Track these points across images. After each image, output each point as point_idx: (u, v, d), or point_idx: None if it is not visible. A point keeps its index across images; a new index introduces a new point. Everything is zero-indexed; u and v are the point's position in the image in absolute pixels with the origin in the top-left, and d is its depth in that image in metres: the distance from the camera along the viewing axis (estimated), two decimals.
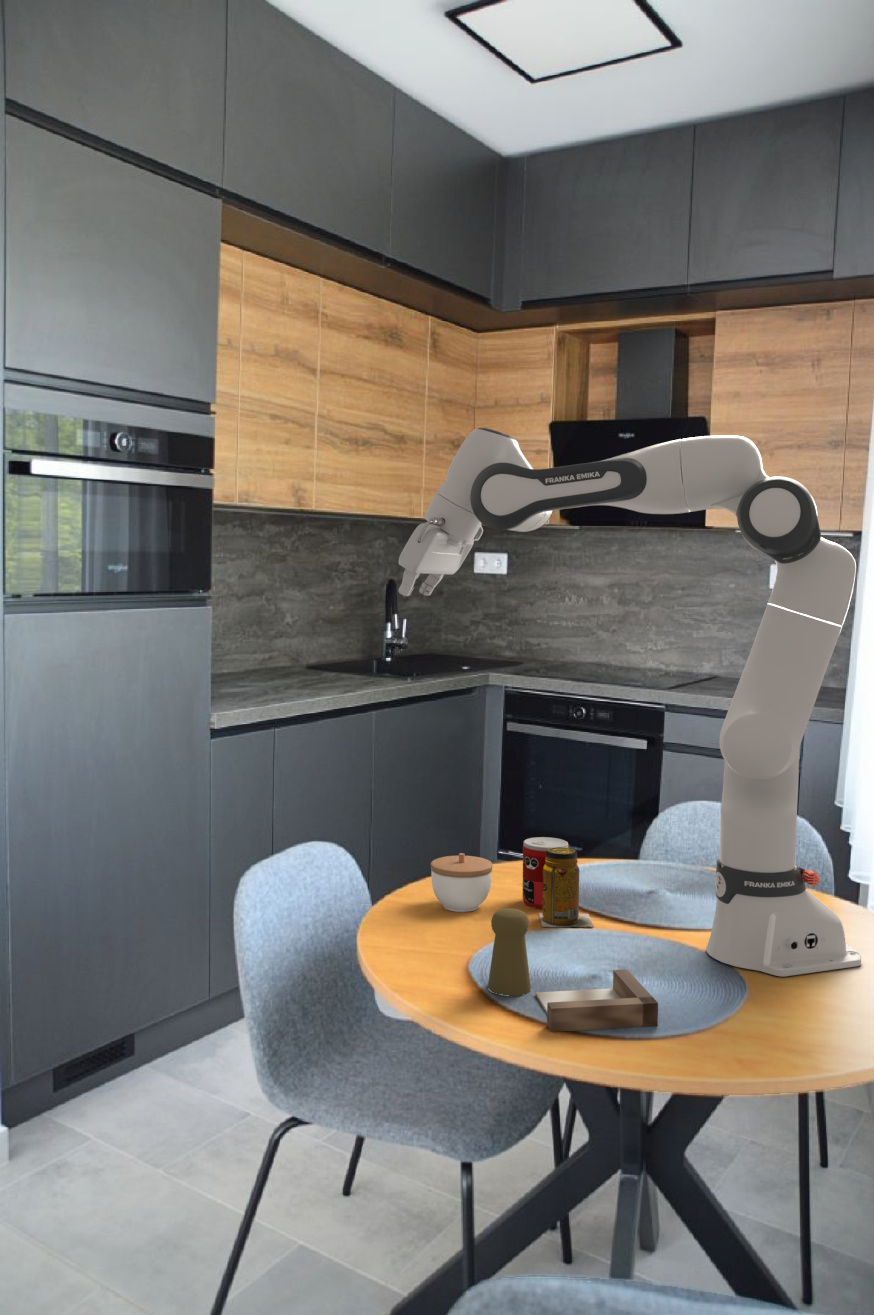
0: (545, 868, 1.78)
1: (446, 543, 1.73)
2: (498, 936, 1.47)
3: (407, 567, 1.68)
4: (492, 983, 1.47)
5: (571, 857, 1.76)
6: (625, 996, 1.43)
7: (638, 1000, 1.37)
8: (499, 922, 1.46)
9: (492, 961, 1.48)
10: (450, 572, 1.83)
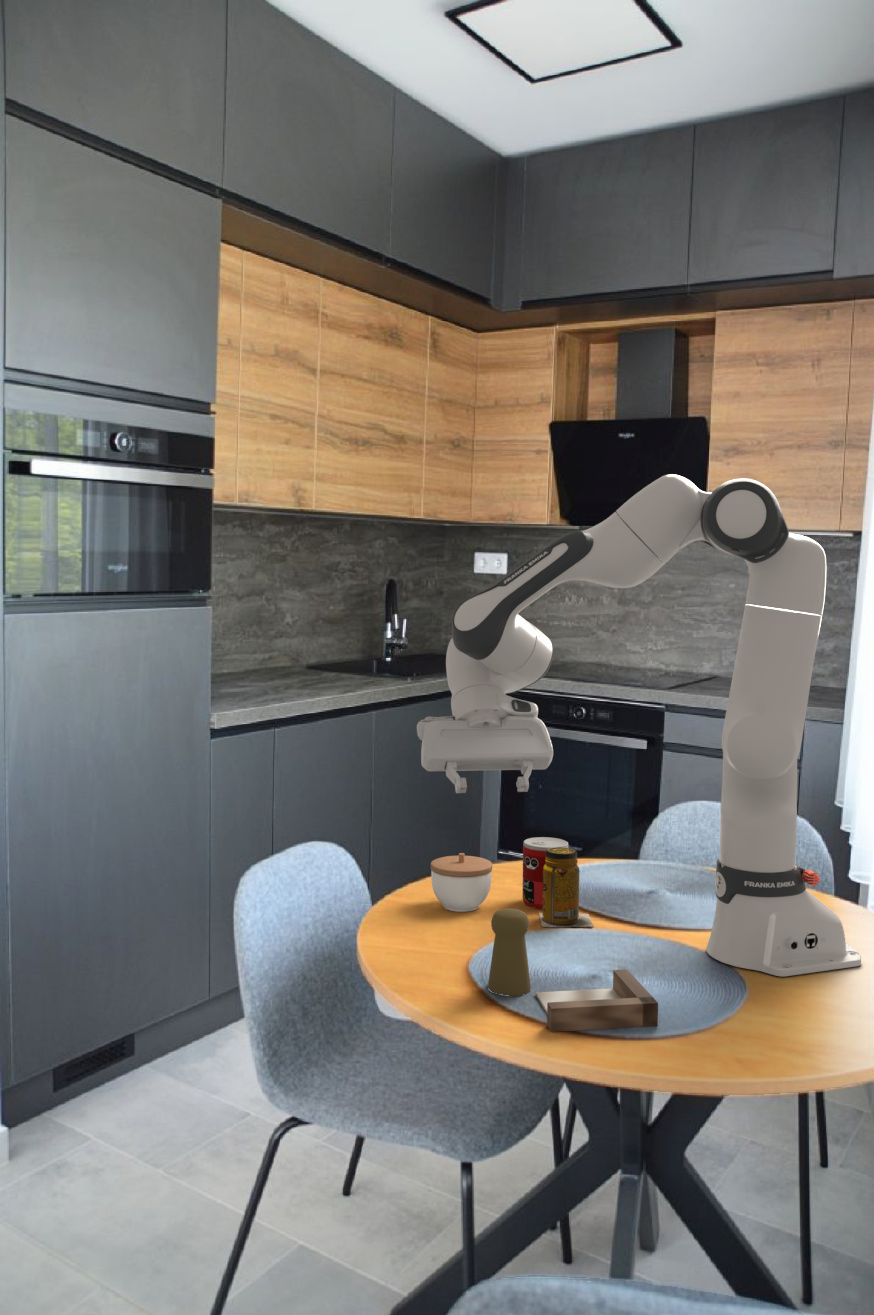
0: (545, 868, 1.78)
1: (469, 727, 1.64)
2: (498, 936, 1.47)
3: (425, 762, 1.61)
4: (492, 983, 1.47)
5: (571, 857, 1.76)
6: (625, 996, 1.43)
7: (638, 1000, 1.37)
8: (499, 922, 1.46)
9: (492, 961, 1.48)
10: (533, 754, 1.62)
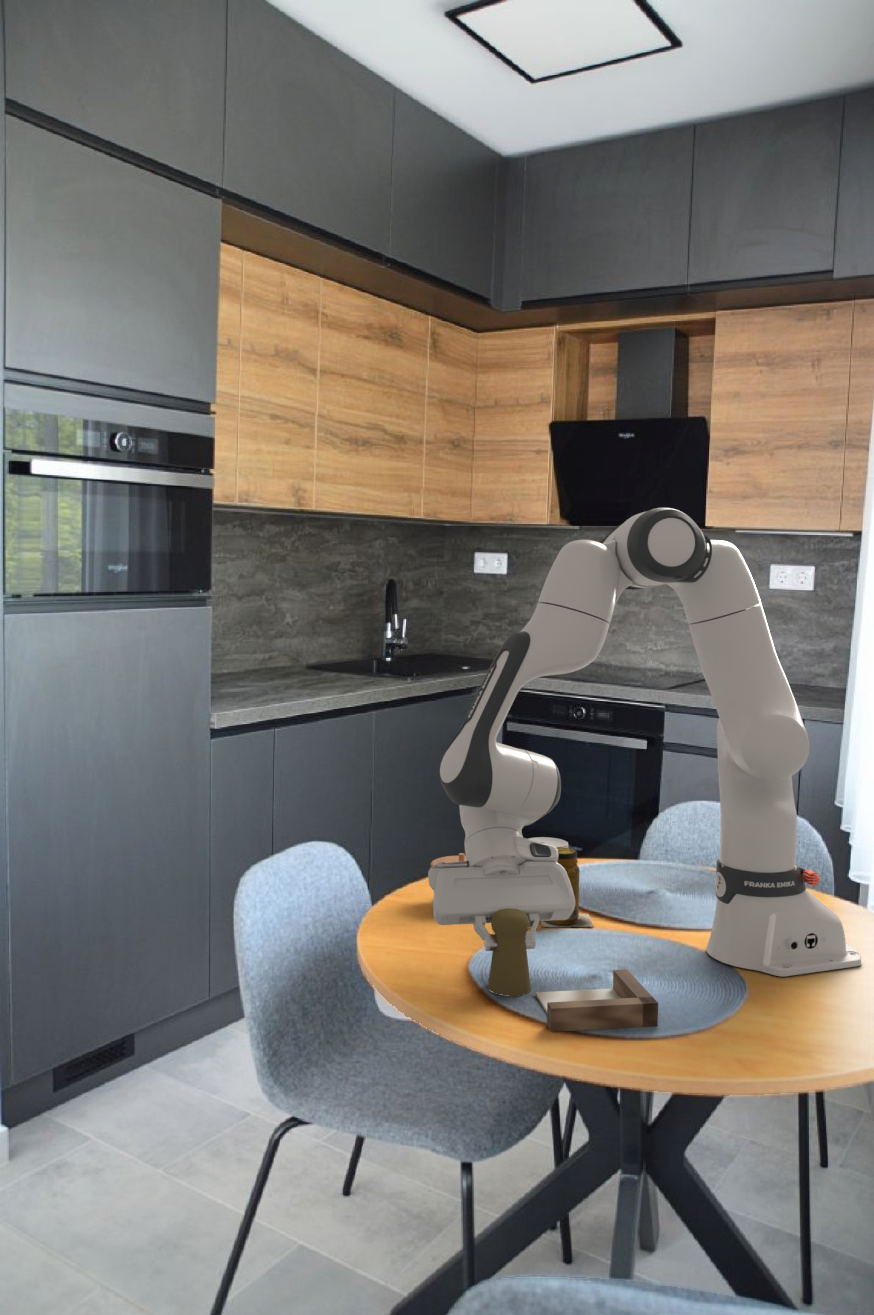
0: None
1: (484, 875, 1.53)
2: (498, 936, 1.47)
3: (437, 917, 1.49)
4: (492, 983, 1.47)
5: (571, 857, 1.76)
6: (625, 996, 1.43)
7: (638, 1000, 1.37)
8: (499, 922, 1.46)
9: (492, 961, 1.48)
10: (554, 906, 1.51)
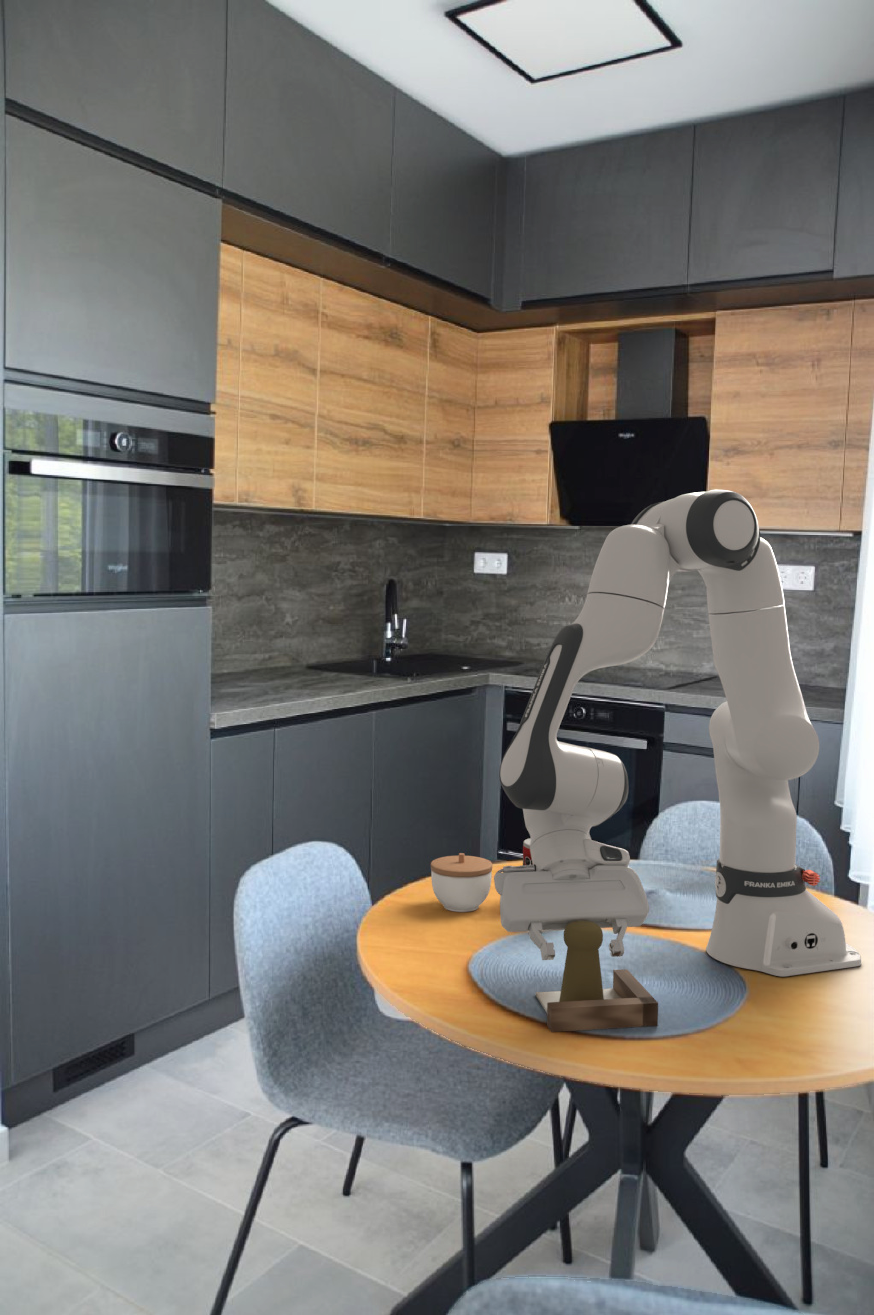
0: None
1: (554, 880, 1.46)
2: (571, 950, 1.41)
3: (506, 923, 1.43)
4: (564, 999, 1.41)
5: None
6: (625, 996, 1.43)
7: (638, 1000, 1.37)
8: (573, 935, 1.40)
9: (564, 975, 1.42)
10: (627, 912, 1.44)
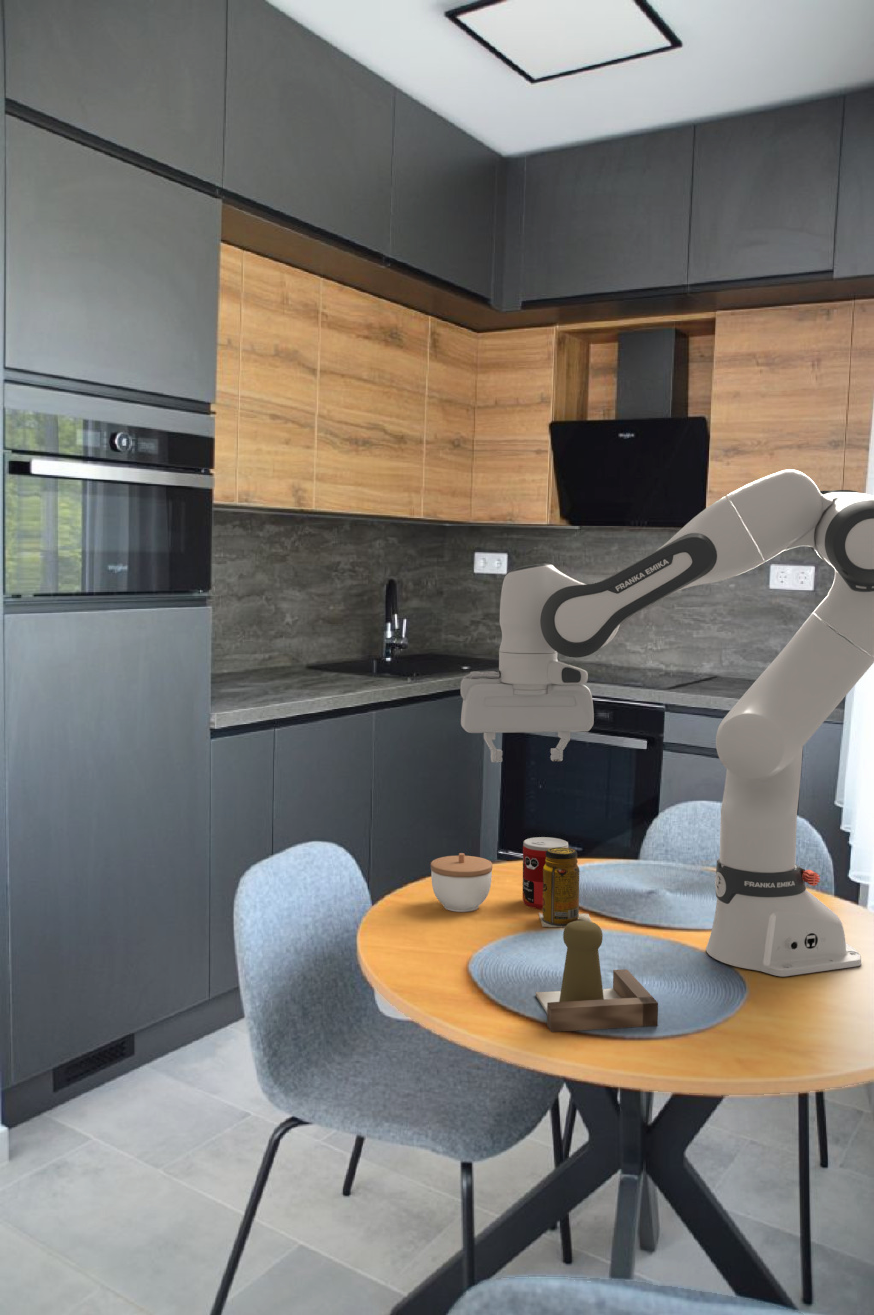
0: (545, 868, 1.78)
1: (514, 694, 1.61)
2: (570, 950, 1.41)
3: (464, 729, 1.61)
4: (564, 999, 1.41)
5: (571, 857, 1.76)
6: (625, 996, 1.43)
7: (638, 1000, 1.37)
8: (572, 935, 1.40)
9: (564, 976, 1.42)
10: (573, 728, 1.62)
